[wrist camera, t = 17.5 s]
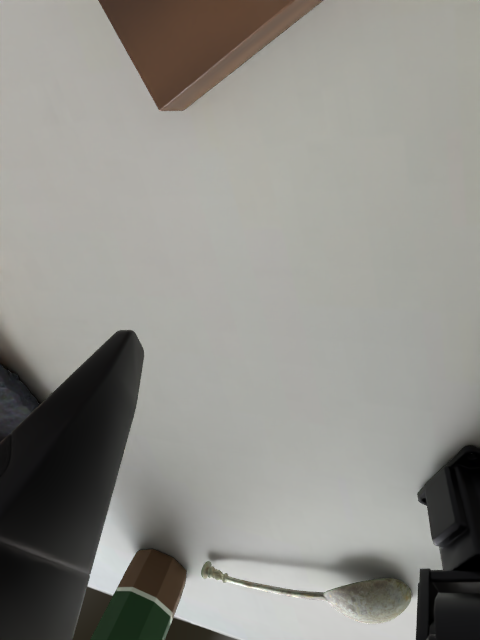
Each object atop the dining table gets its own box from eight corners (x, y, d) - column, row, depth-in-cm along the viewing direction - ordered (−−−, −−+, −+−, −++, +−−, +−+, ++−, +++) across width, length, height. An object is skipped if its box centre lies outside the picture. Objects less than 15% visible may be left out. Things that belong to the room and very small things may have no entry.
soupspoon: (414, 603, 34) (404, 560, 32) (420, 645, 32) (409, 601, 29) (216, 578, 43) (196, 543, 41) (206, 610, 40) (184, 574, 38)
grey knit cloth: (12, 332, 31) (-39, 365, 27) (123, 496, 40) (96, 538, 36) (-81, 349, 37) (-133, 378, 34) (33, 488, 46) (2, 523, 42)
